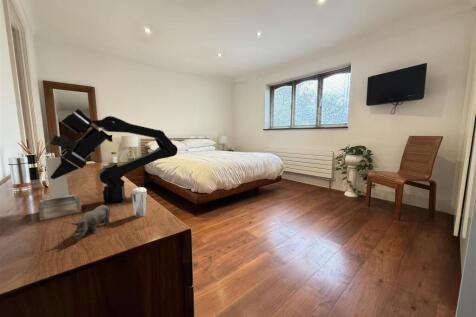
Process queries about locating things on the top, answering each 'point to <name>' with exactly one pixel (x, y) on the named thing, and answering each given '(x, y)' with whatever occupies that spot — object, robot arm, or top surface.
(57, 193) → the peg
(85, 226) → the rhino figurine
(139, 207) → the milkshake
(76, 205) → the coin box
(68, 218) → the top surface
